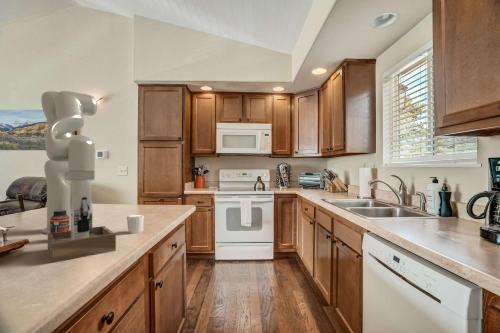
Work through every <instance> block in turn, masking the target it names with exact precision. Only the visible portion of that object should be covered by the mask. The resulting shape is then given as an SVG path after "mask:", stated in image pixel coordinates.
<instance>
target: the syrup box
mask: <svg viewBox="0 0 500 333" xmlns="http://www.w3.org/2000/svg"><path fill="white" fill-rule="evenodd" d="M88 208H89V206H88ZM80 210H83V209H80ZM88 212H89V231H87V232H80V233H78V232H77V220H79V219H78V210H76V212H74V211H73V205H72V210H71V240H75V239H82V238H89V237H93V233H92V228H93V202H91V209H90V210H89V209H88Z"/></svg>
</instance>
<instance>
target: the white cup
mask: <svg viewBox="0 0 500 333" xmlns="http://www.w3.org/2000/svg"><path fill="white" fill-rule="evenodd" d="M144 220H145V215H144V214H137V213H136V214H129V215H127V216H126V222H127V232H128V233H129V234H139V233H140V234H141V233H143V230H144V222H145V221H144Z"/></svg>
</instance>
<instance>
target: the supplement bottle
mask: <svg viewBox="0 0 500 333" xmlns="http://www.w3.org/2000/svg"><path fill="white" fill-rule="evenodd" d="M62 231H69V216H68V215H67V214H66V210H55V211H54V215H53V216H52V217H51V219H50V233H55V232H62Z"/></svg>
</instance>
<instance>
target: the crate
mask: <svg viewBox="0 0 500 333" xmlns="http://www.w3.org/2000/svg"><path fill="white" fill-rule="evenodd" d="M92 233H93V237H89V238H82V239H75V240H71V230H70V231H62V232H55V233H48V234H47V252H48V255H49V257H50V260H51V263H58V262H62V261H68V260H73V259H78V258H83V257H89V256H94V255H99V254H105V253H109V252H115V251H116V250H117V242H116V241H117V238H116V236H117V234H116V233H115V232H114V231H112V230H111V229H109V228H107V227H106V225H102V226H95V227H94V226H92Z"/></svg>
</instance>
